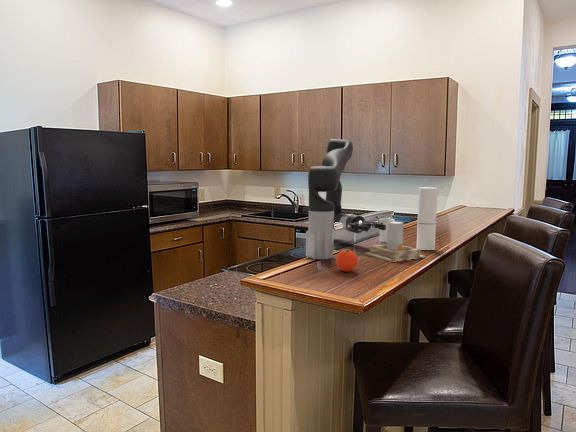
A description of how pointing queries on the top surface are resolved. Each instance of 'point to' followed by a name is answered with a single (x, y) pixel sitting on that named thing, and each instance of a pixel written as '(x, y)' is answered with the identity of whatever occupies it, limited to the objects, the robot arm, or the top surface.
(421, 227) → the cylindrical container
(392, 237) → the skincare box
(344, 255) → the clementine
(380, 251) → the tray
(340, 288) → the top surface
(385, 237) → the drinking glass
